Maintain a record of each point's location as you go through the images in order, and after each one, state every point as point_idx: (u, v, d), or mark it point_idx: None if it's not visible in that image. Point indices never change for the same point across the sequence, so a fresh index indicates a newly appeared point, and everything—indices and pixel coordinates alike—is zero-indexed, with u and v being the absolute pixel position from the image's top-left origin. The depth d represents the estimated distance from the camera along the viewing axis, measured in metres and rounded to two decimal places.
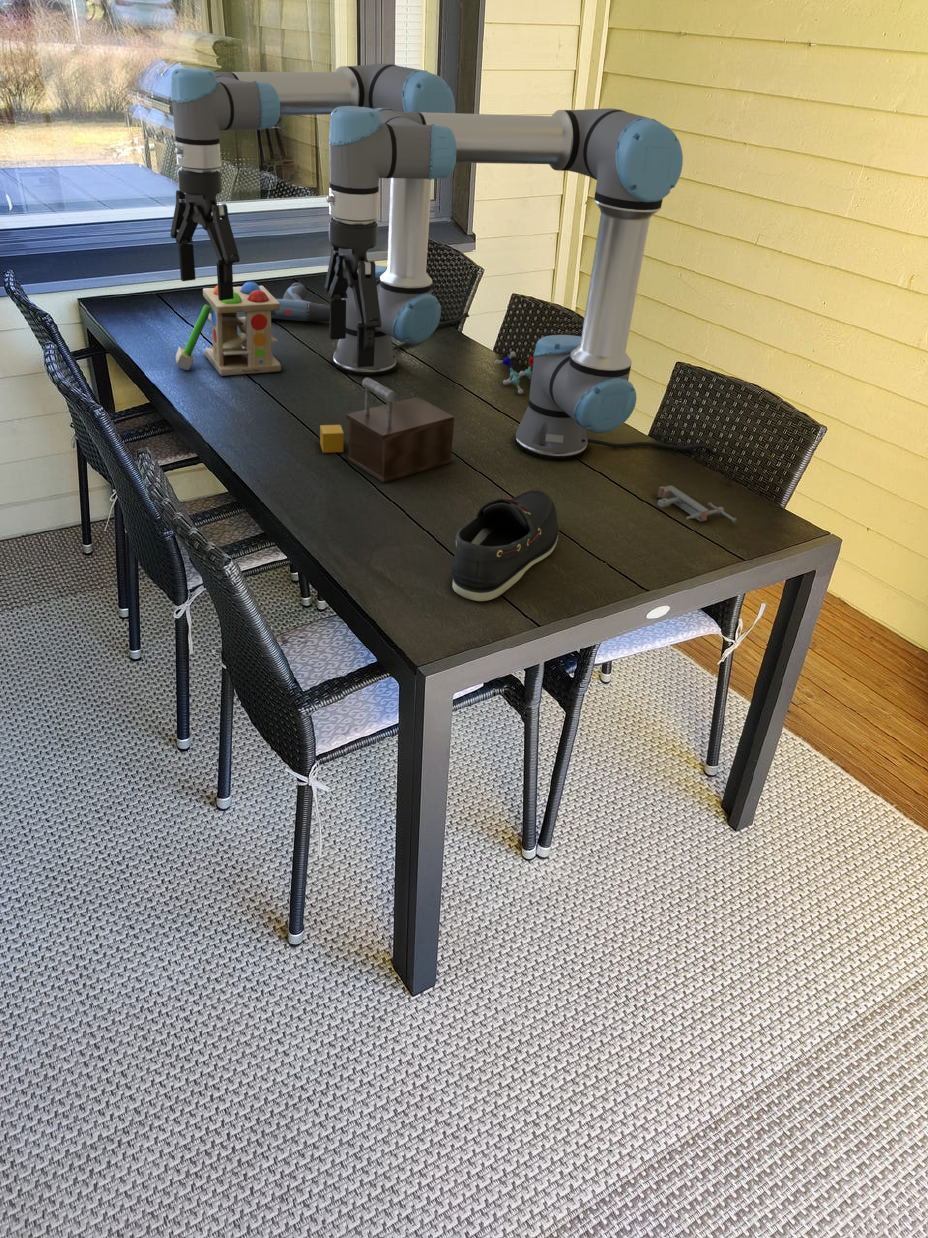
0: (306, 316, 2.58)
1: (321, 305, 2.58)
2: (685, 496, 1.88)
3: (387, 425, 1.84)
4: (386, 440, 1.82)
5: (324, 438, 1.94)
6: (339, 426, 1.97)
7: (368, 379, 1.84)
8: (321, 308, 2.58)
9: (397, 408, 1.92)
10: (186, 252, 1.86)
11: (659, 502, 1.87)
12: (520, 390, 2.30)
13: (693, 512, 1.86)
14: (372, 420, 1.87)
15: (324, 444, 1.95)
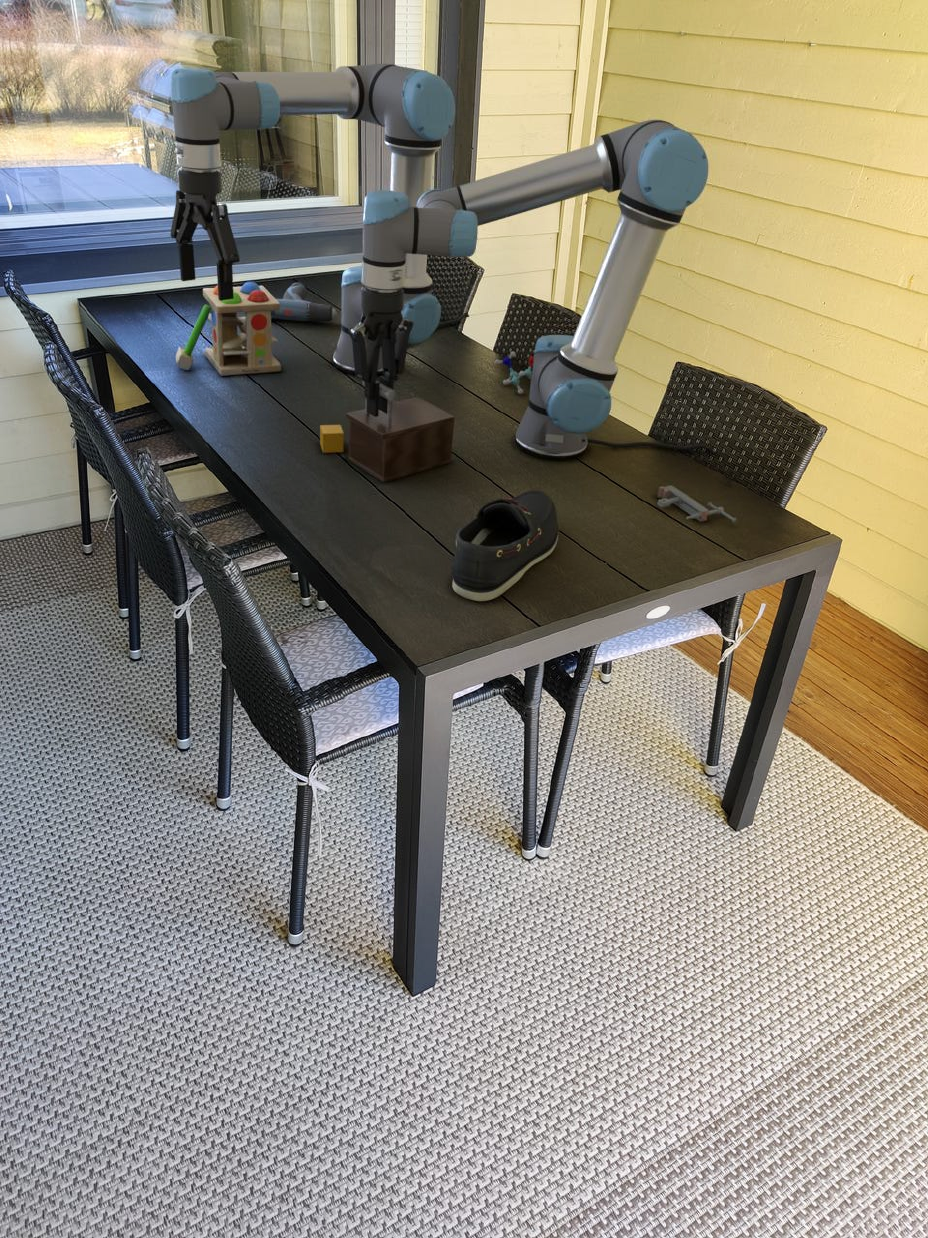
0: (306, 316, 2.58)
1: (321, 305, 2.58)
2: (685, 496, 1.88)
3: (387, 424, 1.84)
4: (386, 440, 1.82)
5: (324, 438, 1.94)
6: (339, 426, 1.97)
7: None
8: (321, 308, 2.58)
9: (397, 408, 1.92)
10: (186, 252, 1.86)
11: (659, 502, 1.87)
12: (520, 390, 2.30)
13: (693, 512, 1.86)
14: (372, 419, 1.86)
15: (324, 444, 1.95)
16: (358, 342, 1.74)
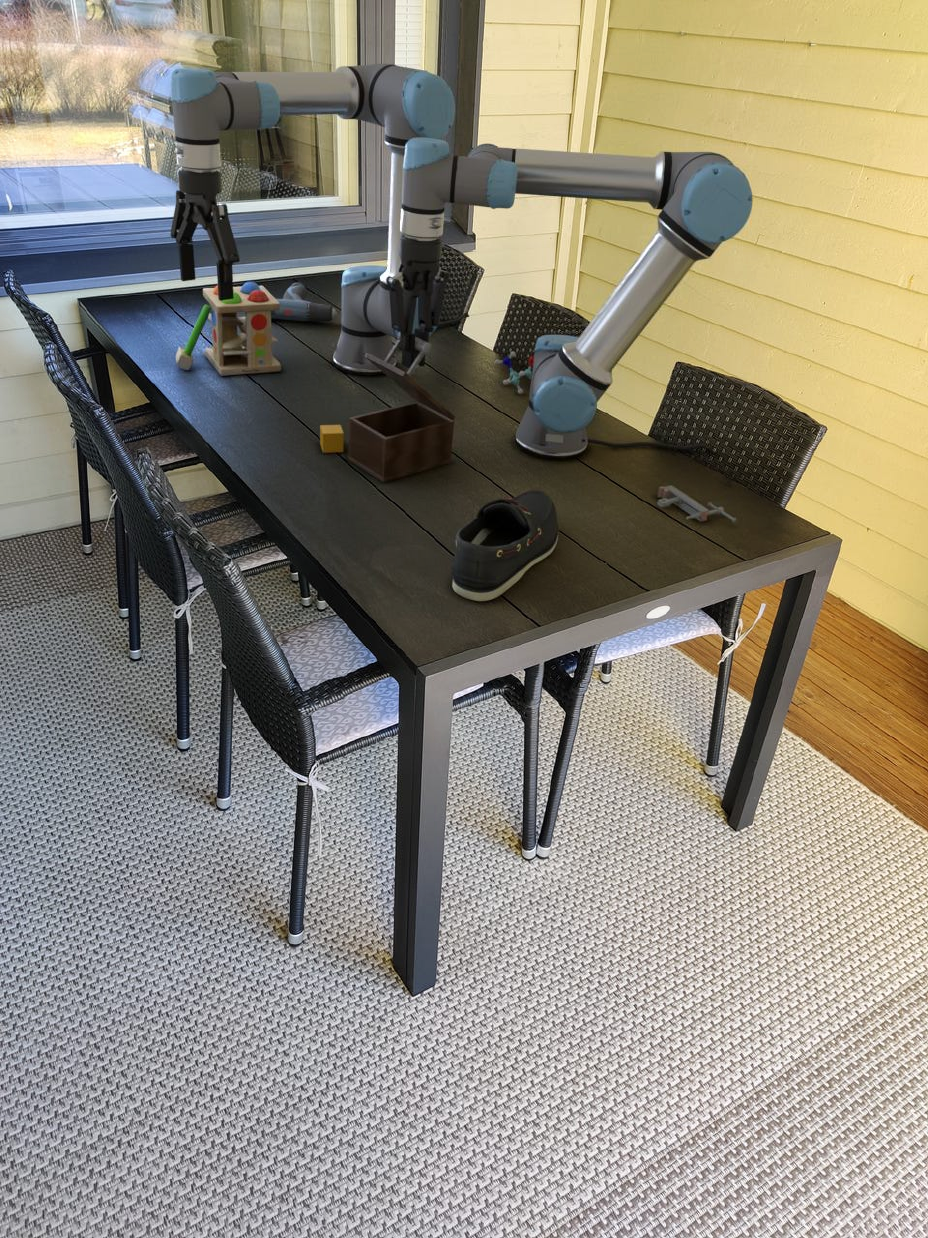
0: (306, 316, 2.58)
1: (321, 305, 2.58)
2: (685, 496, 1.88)
3: (407, 373, 1.81)
4: (386, 440, 1.82)
5: (324, 438, 1.94)
6: (339, 426, 1.97)
7: None
8: (321, 308, 2.58)
9: None
10: (186, 252, 1.86)
11: (659, 502, 1.87)
12: (520, 390, 2.30)
13: (693, 512, 1.86)
14: None
15: (324, 444, 1.95)
16: (396, 291, 1.74)
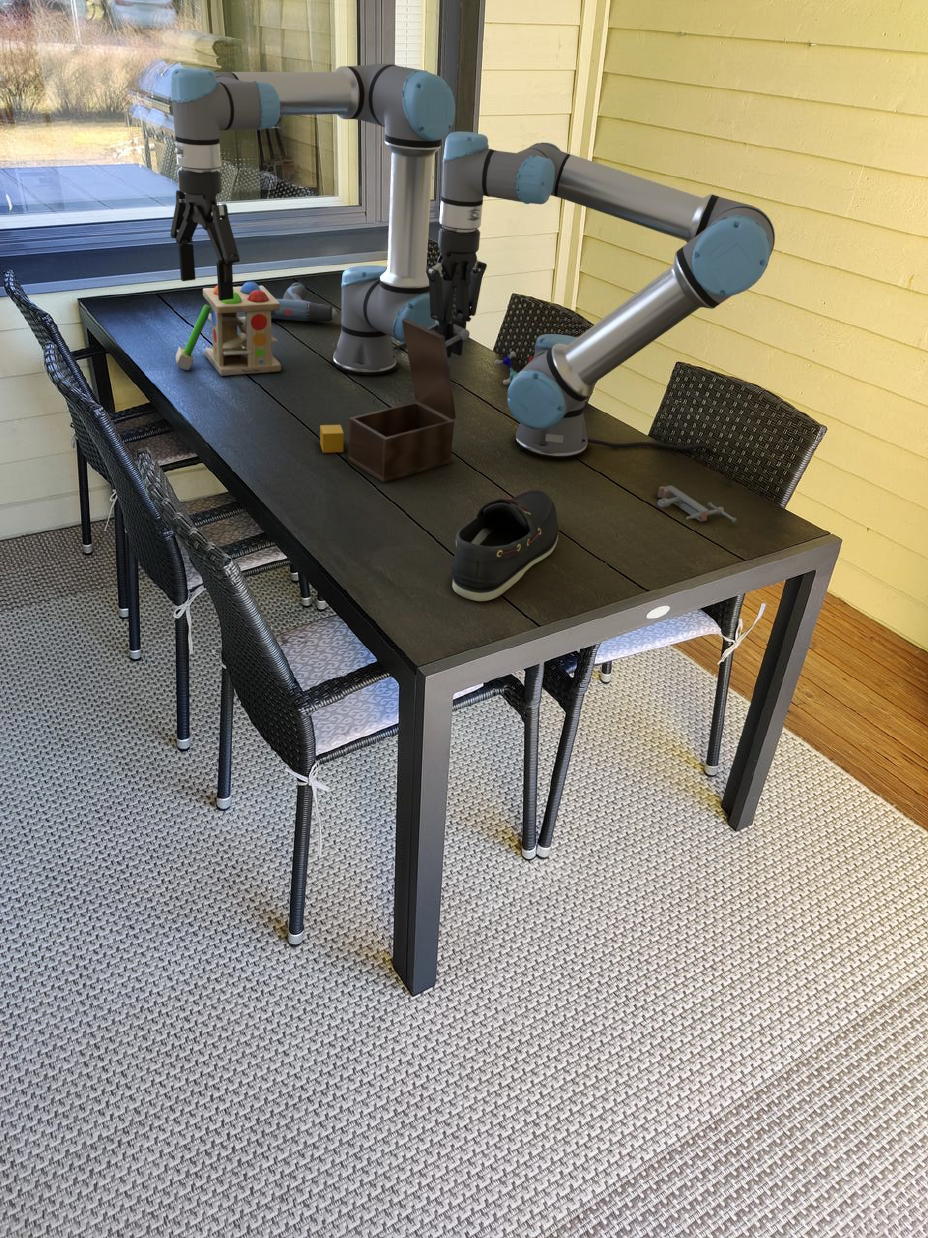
0: (306, 316, 2.58)
1: (321, 305, 2.58)
2: (685, 496, 1.88)
3: None
4: (386, 440, 1.82)
5: (324, 438, 1.94)
6: (339, 426, 1.97)
7: None
8: (321, 308, 2.58)
9: None
10: (186, 252, 1.86)
11: (659, 502, 1.87)
12: None
13: (693, 512, 1.86)
14: None
15: (324, 444, 1.95)
16: (435, 281, 1.79)
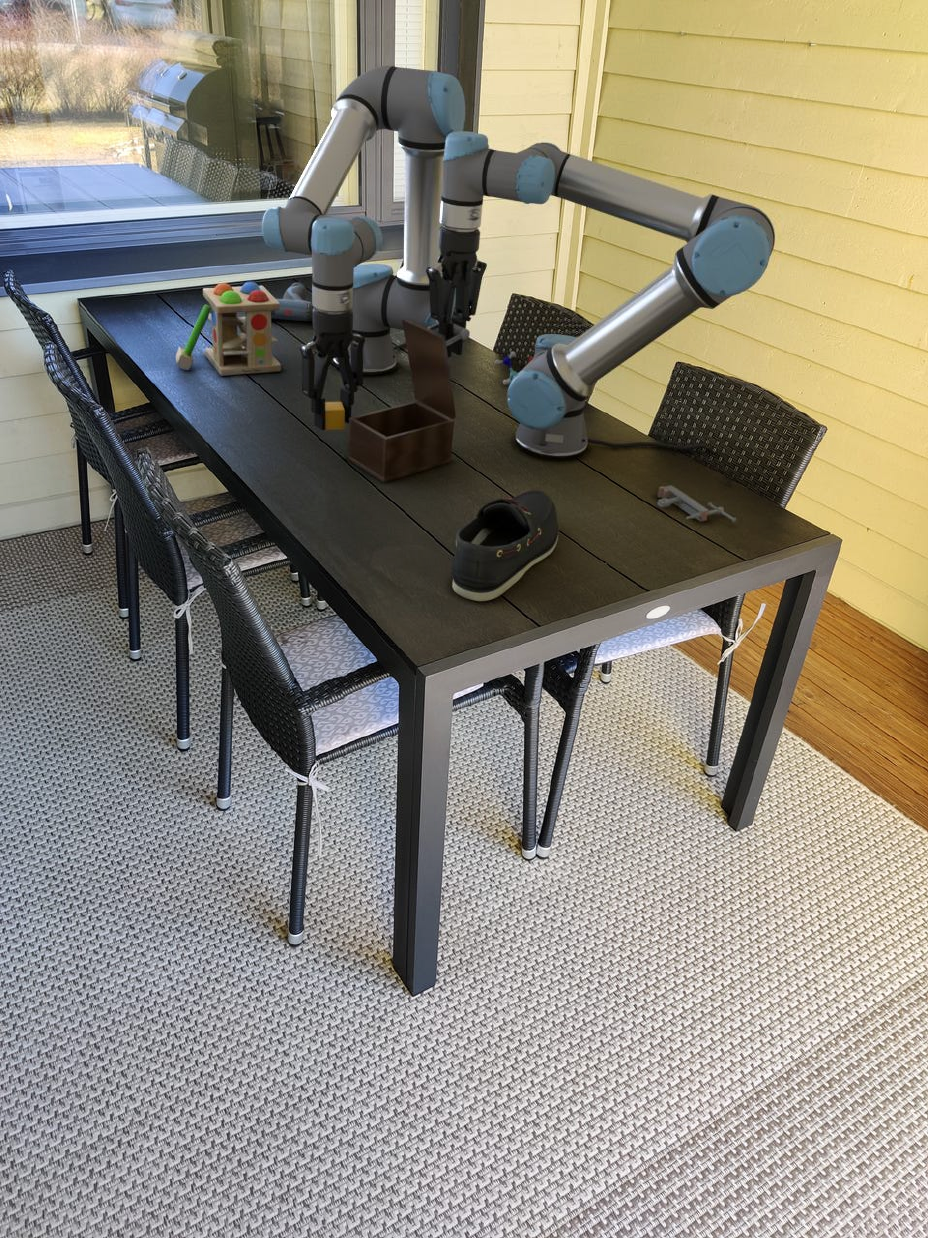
0: (306, 316, 2.58)
1: None
2: (685, 496, 1.88)
3: None
4: (387, 440, 1.82)
5: (325, 415, 1.92)
6: (340, 403, 1.95)
7: None
8: None
9: None
10: None
11: (659, 502, 1.87)
12: None
13: (693, 512, 1.86)
14: None
15: (325, 421, 1.92)
16: (435, 281, 1.79)
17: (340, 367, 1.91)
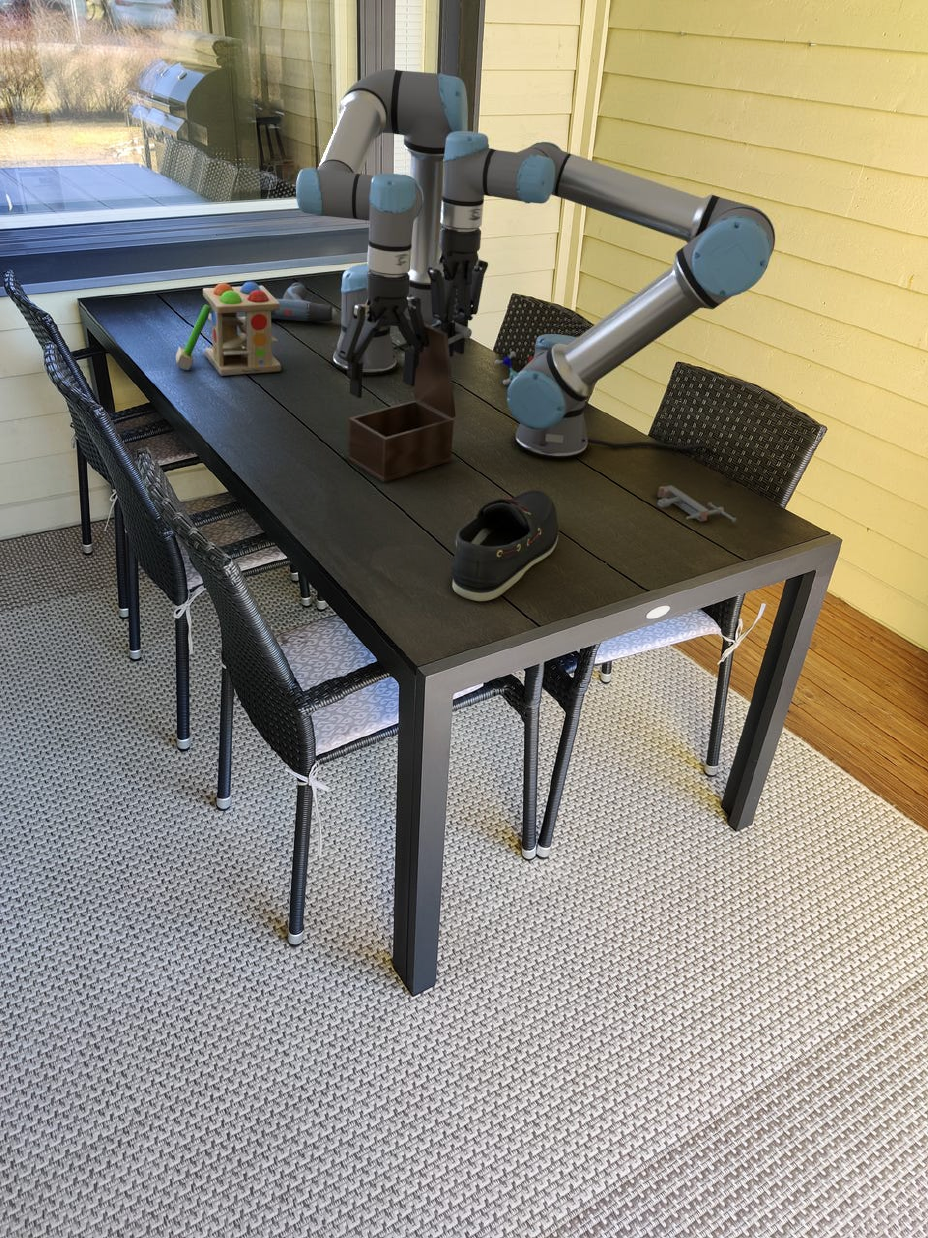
0: (306, 316, 2.58)
1: (321, 305, 2.58)
2: (685, 496, 1.88)
3: None
4: (386, 440, 1.82)
5: None
6: None
7: None
8: (321, 308, 2.58)
9: None
10: None
11: (659, 502, 1.87)
12: None
13: (693, 512, 1.86)
14: None
15: None
16: (437, 281, 1.79)
17: (401, 331, 1.81)
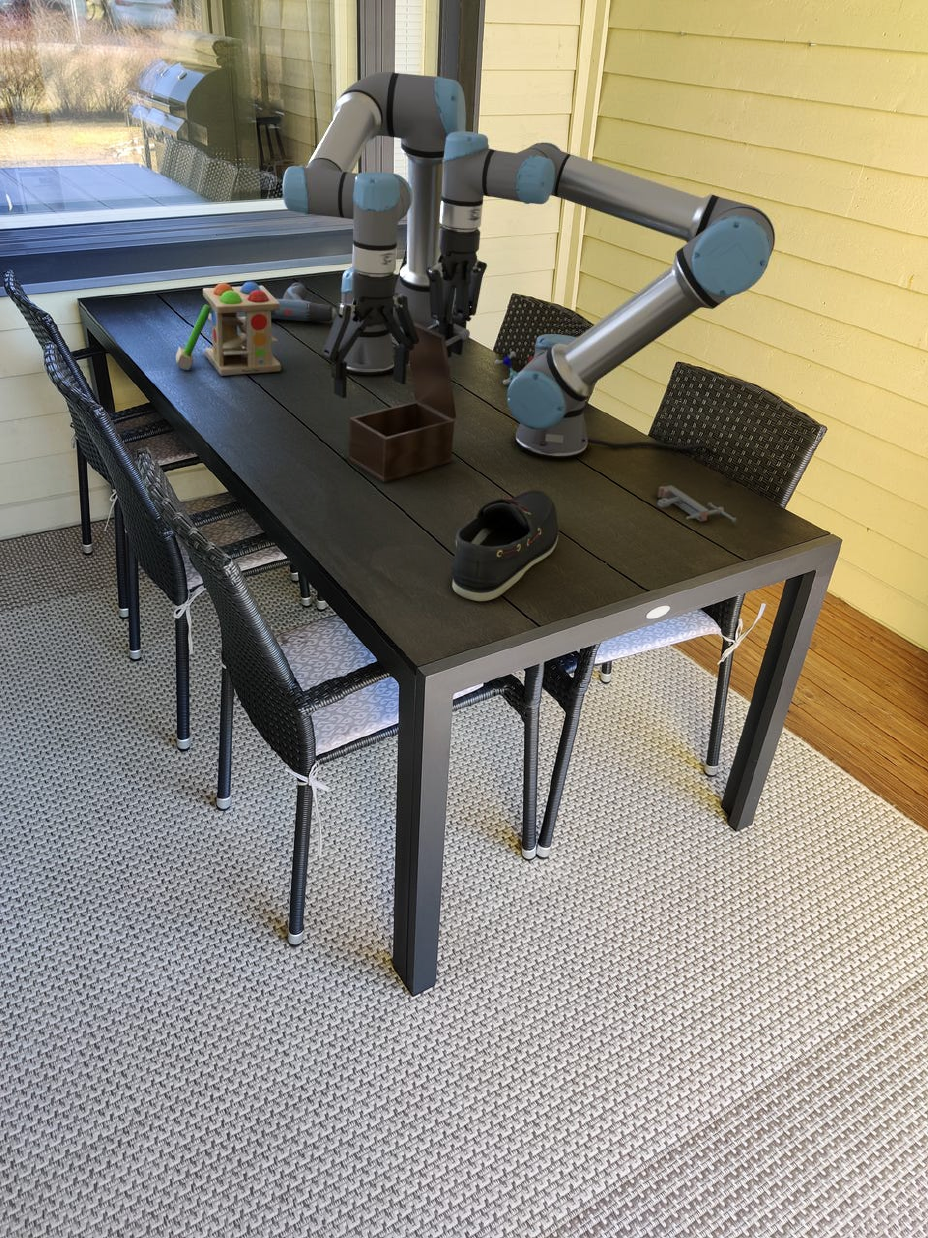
0: (306, 316, 2.58)
1: (321, 305, 2.58)
2: (685, 496, 1.88)
3: None
4: (387, 440, 1.82)
5: None
6: None
7: None
8: (321, 308, 2.58)
9: None
10: None
11: (659, 502, 1.87)
12: None
13: (693, 512, 1.86)
14: None
15: None
16: (435, 281, 1.79)
17: (389, 330, 1.79)
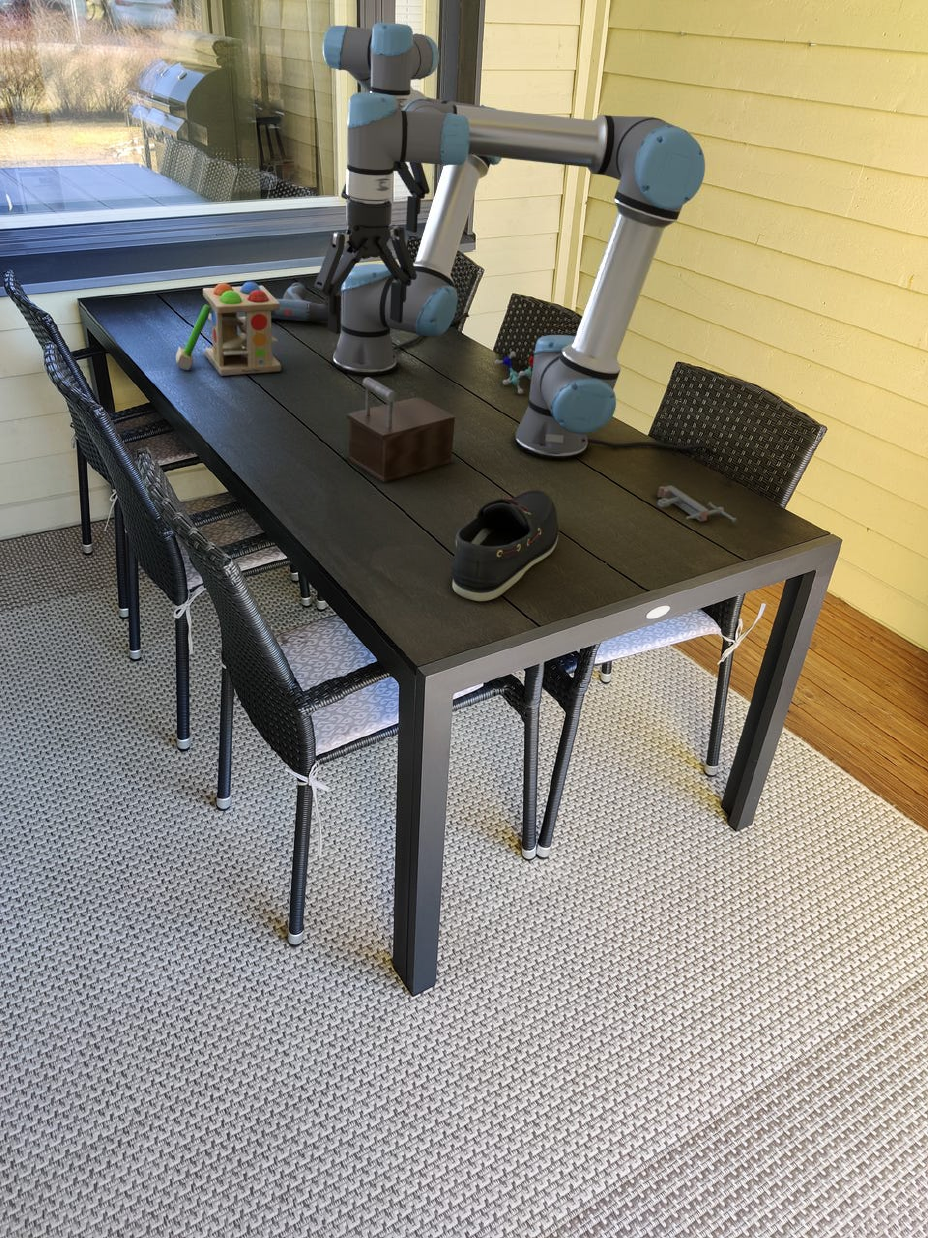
0: (306, 316, 2.58)
1: (321, 305, 2.58)
2: (685, 496, 1.88)
3: (388, 425, 1.84)
4: (386, 440, 1.82)
5: None
6: None
7: (369, 379, 1.84)
8: (321, 308, 2.58)
9: (398, 408, 1.92)
10: None
11: (659, 502, 1.87)
12: (520, 390, 2.30)
13: (693, 512, 1.86)
14: (373, 420, 1.87)
15: None
16: (337, 246, 1.61)
17: (403, 178, 1.96)
